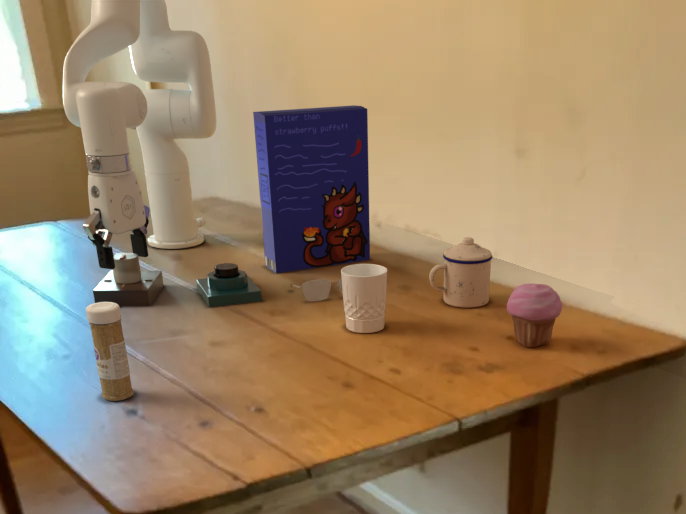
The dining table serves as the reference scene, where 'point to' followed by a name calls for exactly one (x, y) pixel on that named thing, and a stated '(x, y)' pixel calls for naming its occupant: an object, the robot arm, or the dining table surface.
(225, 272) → the black button
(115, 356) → the sprinkles bottle
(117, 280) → the dial
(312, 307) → the dining table surface
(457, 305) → the teacup with lid
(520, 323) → the cupcake
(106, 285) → the dial panel
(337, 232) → the cereal box
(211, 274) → the button housing
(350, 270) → the white cup
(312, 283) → the eyeglasses
